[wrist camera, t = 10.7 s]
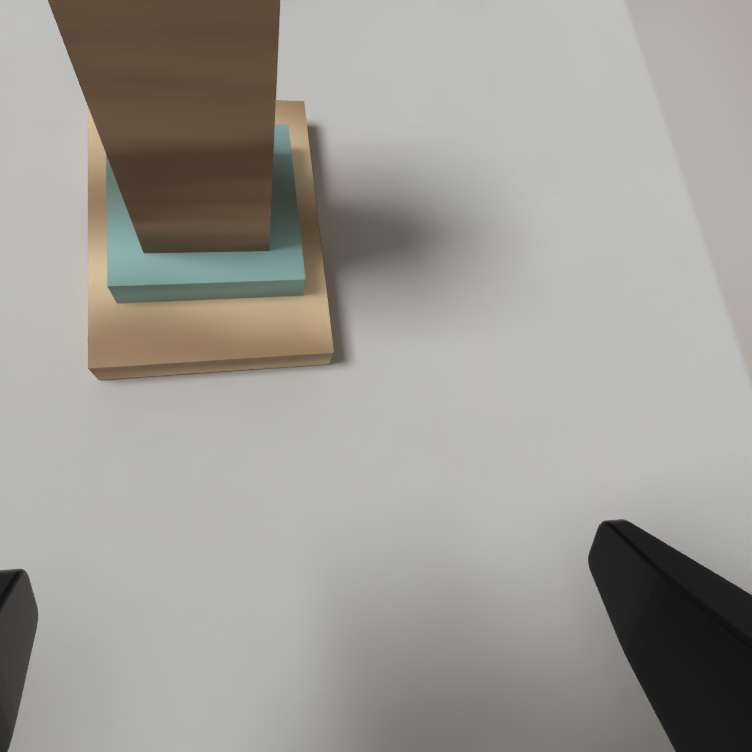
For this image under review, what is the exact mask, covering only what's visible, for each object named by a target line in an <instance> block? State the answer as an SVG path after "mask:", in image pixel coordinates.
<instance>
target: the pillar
mask: <svg viewBox="0 0 752 752" xmlns="http://www.w3.org/2000/svg"><path fill="white" fill-rule="evenodd" d="M48 2H49V4H50V7H51V10H52V12H53V15H54V18H55V20H56V23H57V25H58V28H59V31H60V33H61V36H62V39H63V41H64V44H65V47H66V49H67V52H68V55H69V57H70V60H71V63H72V65H73V68H74V70H75V73H76V76H77V78H78V81H79V84H80V86H81V89H82V92H83V94H84V97H85V100H86V102H87V105H88V107H89V110H90V113H91V115H92V118H93V121H94V123H95V126H96V129H97V131H98V134H99V137H100V139H101V142H102V145H103V147H104V150H105V152H106V155H107V158H108V160H109V163H110V166H111V168H112V171H113V174H114V176H115V179H116V182H117V184H118V187H119V190H120V192H121V195H122V197H123V200H124V203H125V205H126V208H127V211H128V213H129V216H130V219H131V221H132V224H133V227H134V229H135V232H136V234H137V237H138V240H139V242H140V245H141V248H142V250H143V253H195V252H256V251H269V245H270V222H271V199H272V176H273V153H274V130H275V107H276V84H277V61H278V39H279V16H280V0H48Z"/></svg>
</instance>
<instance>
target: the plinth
mask: <svg viewBox="0 0 752 752" xmlns="http://www.w3.org/2000/svg"><path fill="white" fill-rule="evenodd" d="M333 354H334V349H333V340H332V332H331V324H330V315H329V307H328V298H327V290H326V282H325V273H324V265H323V256H322V248H321V240H320V231H319V223H318V214H317V206H316V198H315V189H314V181H313V172H312V164H311V156H310V147H309V139H308V130H307V122H306V114H305V105H304V101H282V100H276V107H275V130H274V153H273V176H272V199H271V222H270V245H269V251H256V252H195V253H143V250H142V248H141V245H140V242H139V240H138V237H137V234H136V232H135V229H134V227H133V224H132V221H131V219H130V216H129V213H128V211H127V208H126V205H125V203H124V200H123V197H122V195H121V192H120V190H119V187H118V184H117V182H116V179H115V176H114V174H113V171H112V168H111V166H110V163H109V160H108V158H107V155H106V152H105V150H104V147H103V145H102V142H101V139H100V137H99V134H98V131H97V129H96V126H95V123H94V121H93V118H92V115H91V113H90V110H89V107H88V369H89V370H90V371H91V372H92V373H93V374H94V375H95V376H96V377H97V379H98V380H106V379H121V378H135V377H150V376H164V375H179V374H193V373H208V372H223V371H237V370H252V369H266V368H281V367H296V366H310V365H325V364H330V362H331V359H332V356H333Z"/></svg>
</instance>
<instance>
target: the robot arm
mask: <svg viewBox="0 0 752 752" xmlns="http://www.w3.org/2000/svg"><path fill="white" fill-rule="evenodd" d="M588 563H589V568H590V571H591V574H592V576H593V578H594V581H595V583H596V586H597V588H598V591H599V593H600V596H601V598H602V601H603V603H604V605H605V608H606V610H607V613H608V615H609V618H610V620H611V623H612V625H613V628H614V630H615V632H616V635H617V637H618V640H619V642H620V644H621V646H622V649H623V651H624V653H625V655H626V657H627V659H628V661H629V663H630V665H631V667H632V669H633V671H634V673H635V675H636V677H637V679H638V681H639V683H640V685H641V686H642V688H643V690H644V692H645V694H646V696H647V698H648V700H649V702H650V704H651V706H652V708H653V709H654V711H655V713H656V715H657V717H658V719H659V721H660V723H661V725H662V727H663V729H664V730H665V732H666V734H667V736H668V738H669V740H670V742H671V744H672V746H673V748H674V750H675V751H676V752H752V595H751V594H749V593H748V592H746V591H744V590H743V589H741V588H739V587H738V586H736V585H734V584H733V583H731V582H729V581H728V580H726V579H724V578H723V577H721V576H719V575H718V574H716V573H714V572H713V571H711V570H709V569H707V568H706V567H704V566H702V565H701V564H699V563H697V562H696V561H694V560H692V559H691V558H689V557H687V556H686V555H684V554H682V553H681V552H679V551H677V550H676V549H674V548H672V547H671V546H669V545H667V544H666V543H664V542H662V541H661V540H659V539H657V538H656V537H654V536H652V535H651V534H649V533H647V532H646V531H644V530H642V529H641V528H639V527H637V526H636V525H634V524H632V523H631V522H629V521H627V520H622V519H620V520H607V521H603V522H602V523H601V524H600V525H599V527H598V529H597V532H596V535H595V538H594V541H593V544H592V546H591V549H590V552H589V557H588ZM37 623H38V608H37V604H36V601H35V597H34V594H33V590H32V587H31V583H30V579H29V576H28V574H27V572H26V571H25V570H23V569H12V570H0V752H8V749H9V746H10V743H11V739H12V736H13V732H14V728H15V724H16V719H17V715H18V711H19V706H20V701H21V697H22V692H23V688H24V683H25V679H26V674H27V670H28V665H29V660H30V656H31V651H32V647H33V642H34V638H35V633H36V629H37Z"/></svg>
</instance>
